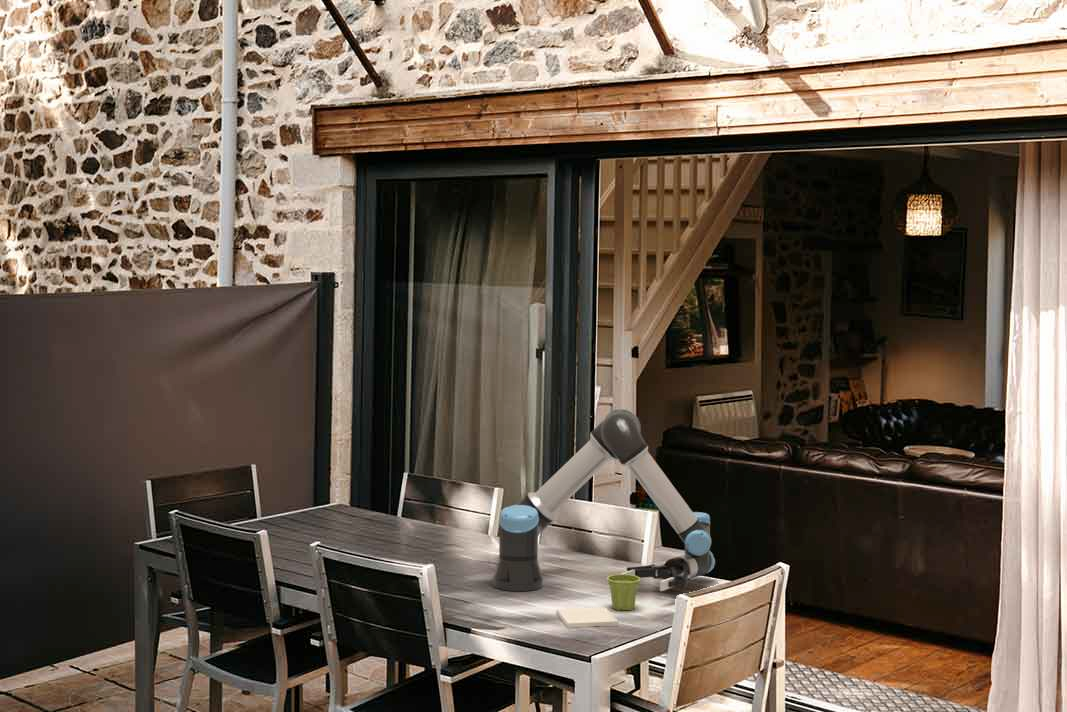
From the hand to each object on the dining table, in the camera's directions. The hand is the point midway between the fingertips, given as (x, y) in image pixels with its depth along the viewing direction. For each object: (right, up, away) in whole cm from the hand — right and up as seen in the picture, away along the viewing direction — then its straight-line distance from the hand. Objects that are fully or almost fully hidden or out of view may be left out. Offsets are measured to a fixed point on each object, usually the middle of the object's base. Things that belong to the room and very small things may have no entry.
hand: (640, 582), depth 359 cm
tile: (-16, -7, -18) cm, 26 cm away
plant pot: (-6, -6, -6) cm, 10 cm away
